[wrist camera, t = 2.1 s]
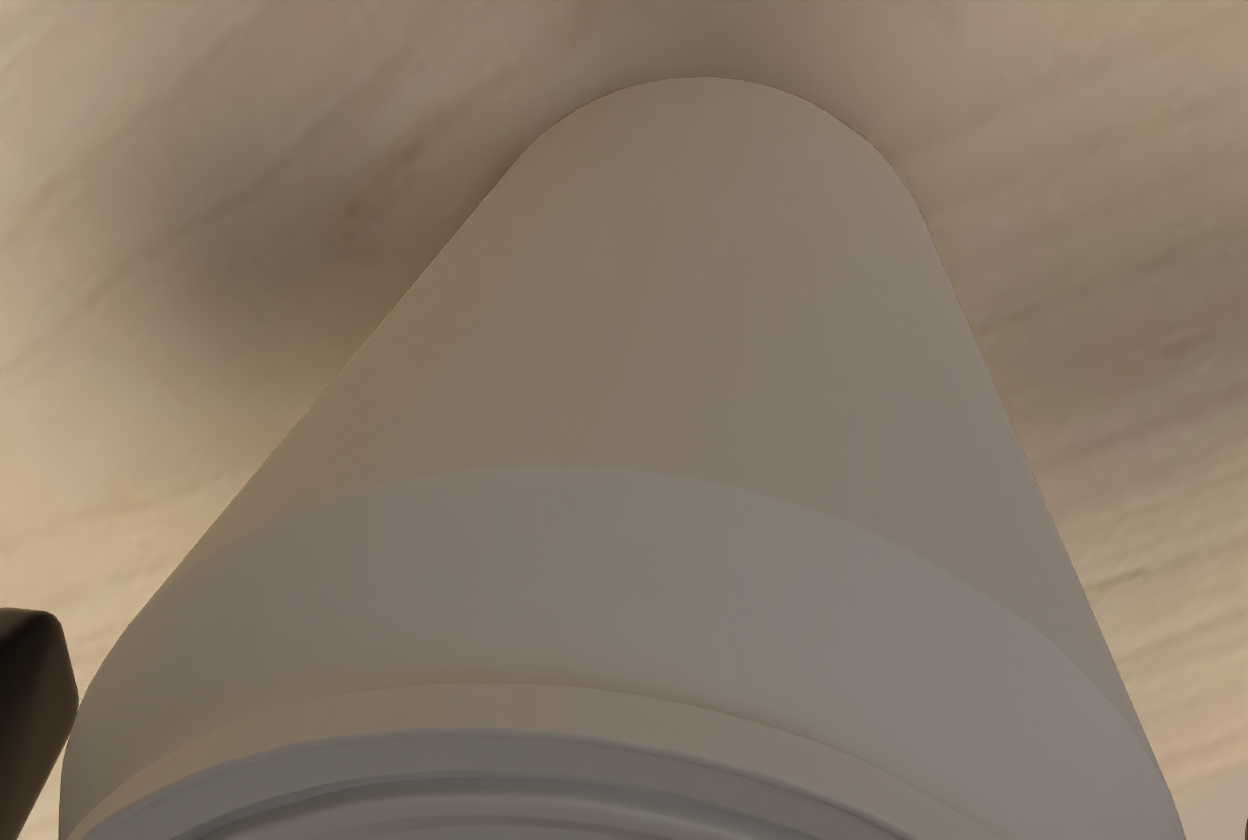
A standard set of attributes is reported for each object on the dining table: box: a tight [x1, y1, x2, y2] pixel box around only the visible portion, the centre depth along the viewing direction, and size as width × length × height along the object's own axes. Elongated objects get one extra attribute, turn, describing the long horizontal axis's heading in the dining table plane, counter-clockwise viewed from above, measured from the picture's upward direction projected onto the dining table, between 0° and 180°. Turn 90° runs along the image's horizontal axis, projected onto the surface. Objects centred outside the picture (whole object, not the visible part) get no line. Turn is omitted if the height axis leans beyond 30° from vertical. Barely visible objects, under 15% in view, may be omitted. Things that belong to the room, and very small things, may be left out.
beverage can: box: [59, 77, 1186, 840], centre depth 10 cm, size 6×6×12 cm
